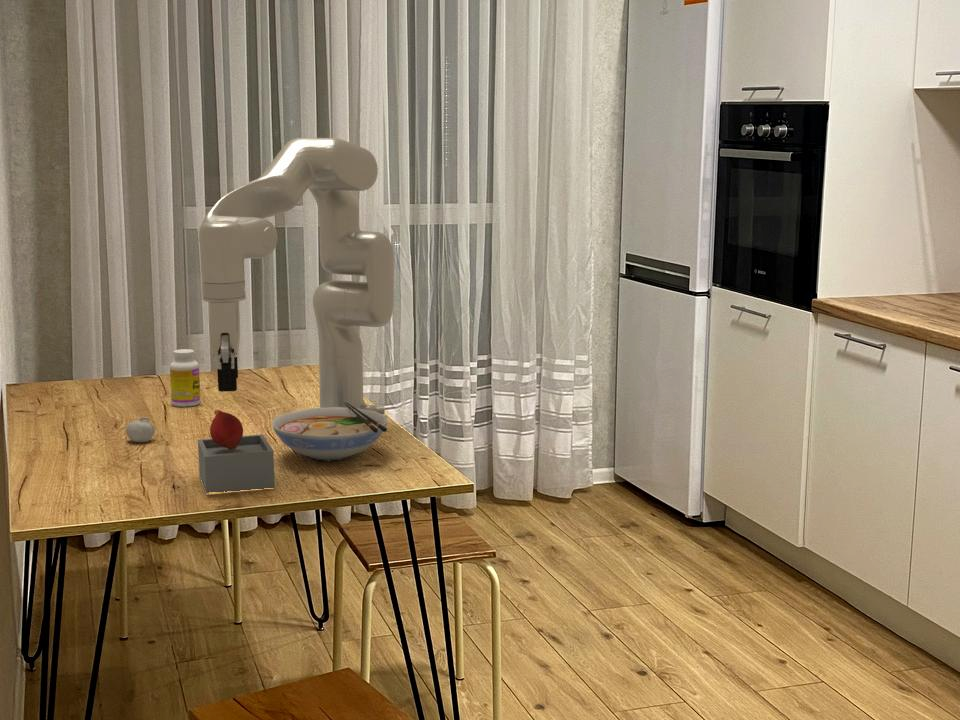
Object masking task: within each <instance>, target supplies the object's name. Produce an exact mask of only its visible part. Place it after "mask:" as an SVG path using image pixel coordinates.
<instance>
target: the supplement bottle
mask: <svg viewBox="0 0 960 720" xmlns="http://www.w3.org/2000/svg"><path fill="white" fill-rule="evenodd" d="M194 357H195V350H194V349H190V348H189V349H188V348H183V349H176V350H173V358H174V360H173V361H172V362H171V363H170V365H169V373H170V374H169V375H170V396H171V397H170V399H171V404H172V405H173V406H175V407H181V408H189V407H190V408H191V407H195V406H197V405H199V404H200V403H201V387H200V385H201V382H200V381H201V380H200V364H199V362H198V361H196V360H195V359H194Z"/></svg>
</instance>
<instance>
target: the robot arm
mask: <svg viewBox="0 0 960 720" xmlns="http://www.w3.org/2000/svg"><path fill="white" fill-rule="evenodd" d="M378 171H379V168H378V163H377V160H376V157H375V156H374V154H373V153H372V152H371V151H370V150H368V149H367V148H364V147H361V146H360V145H357V144H354V143H352V142H349V141H346V140H343V139H340V138H335V137H296V138H293V139H291V140H288V141H287V142H286V143H285V144H284V145H283V147H282V148H281V149H280V151H279V152H278V153H277V154H276V156H275V157H274V159H273V160H272V161H271V162H270V164H269V165H268V167H267V168H266V169H265V170H264V171H263V173H262V174H261V175H260V177H257V179H254V180H251V181H248V182H247V183H246V184H245V183H244V185H242V186H240V187H238V188H236V189H234V190H232V191H230V192H228V193H227V194H225V195H224V196H222V197H221V198H220V199H218V200H217V201H216V203H214V205H213V206H212V208H211V209H210V210H209V211H208V212H207V214H206V215H205V216H204V219H203V220H202V222H201V224H200V227H199V230H198V241H199V257H200V272H201V277H200V278H201V290H202V291H201V294H202V295H201V296H202V301H203V302H206V303H208V330H209V353H210V357H212V358H214V357H215V356H217V358H218V359H217V361H218V363H217V366H218V367H217V368H216V369H217V387H218V388H217V389H218V391H219V392H220V393H222V392H225V393H226V392H236V391H237V389H238V383H237V379H238V378H239V369H238V356H237V355H238V354H239V348H240V335H241V333H240V332H241V321H240V319H241V317H240V316H241V315H240V301H244V300H246V298H247V297H246V280H245V279H246V277H245V275H246V274H245V259H251V260H252V259H254V260H255V259H256V260H257V259H264V258H266V257H268V256H269V255H271V254H272V253H273V252H274V250H275V249H276V247H277V245H278V239H279V236H278V230H277V229H276V227H275V225H274V224H273V223H272V222H271V221H269V220H268V219H266V218H270V217H273V216H274V217H275V216H277V215H281V214H283V213H287V212H289V211H291V210H293V208H295V207H296V206H297V205H298V203H299V201H300V200H301V199H302V197H303V196H304V195H305V192H306V191H307V189H308V190H309V192H310V193H311V195H312V197H313V198H314V200H315V203H316V205H317V210H318V216H319V217H318V220H319V221H318V222H319V226H318V228H319V259H320V265H321V267H322V269H323V270H324V271H325V272H326V273H330V274H333V275H343V276H361V277H362V276H363V277H365V279H366V281H354V280H352V281H351V280H329V281H326V282H322V283H321V284H320V285H318V286H317V287H316V289H315V290H314V292H313V297H312V307H313V311H314V317H315V322H316V329H317V339H318V367H319V368H318V374H319V375H318V377H319V381H318V382H319V408H329V407H344V408H348V407H347V406H346V405H345V404H347V403H349V404H350V405H352V406H353V407H355V408H360V409H365V410H370V411H375V412H378V413H380V414H382V415H385V412H386V411H385V405H378V404H371V405H369V404H367V403H366V402H365V400H364V372H363V371H364V366H363V364H364V363H363V362H364V361H363V353H364V352H363V351H364V349H363V348H364V347H363V343H362V340H361V337H360V334H359V333H358V331H357V330H356V328H355V327H368V328H369V327H370V328H371V327H372V328H380V327H385V326H386V325H387V324H389V322H390V321H391V319H392V317H393V313H394V312H393V311H394V302H395V301H394V299H395V297H394V294H395V293H394V292H395V291H394V287H395V286H394V285H395V283H394V282H395V280H394V278H395V275H394V274H395V273H394V270H395V268H394V266H395V264H394V263H395V259H394V258H395V257H394V249H393V245H392V242H391V241H390V238H389V237H388V236H387V235H386V234H384V233H382V232H379V231H372V230H371V231H369V230H367V231H366V230H362V231H361V228H360V209H359V208H360V207H359V205H358V202H357V200H356V198H355V196H354V195H353V193H352V191H354V192H355V191H356V192H363V191H367V190H369V189H371V188H372V187H373V186H374V185H375V183H376V181H377V178H378V173H379V172H378ZM344 403H345V404H344ZM347 405H348V404H347ZM350 405H348V406H349V407H350V408H352V407H351V406H350Z"/></svg>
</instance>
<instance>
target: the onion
mask: <svg viewBox="0 0 960 720" xmlns="http://www.w3.org/2000/svg"><path fill="white" fill-rule="evenodd" d="M213 414H214V415H215V416H214V417H213V420H212V421H211V423H210V424H211V425H210V428H209V433H210V439H212V440H213V441H214V442H215V443H216V444H217V445H219V446H222V447H225V448H228V449H230V450H234V449H236V448H237V446H238V444H239V443H240V441H241V439H242V436H244V427H243V424H242V421H241V420H240V419H239V418H238V417H237V416H235V415H234V414H231V413H229V412H224V411H223V410H221V409H216V410H214V412H213Z"/></svg>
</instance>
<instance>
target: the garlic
mask: <svg viewBox="0 0 960 720" xmlns="http://www.w3.org/2000/svg"><path fill="white" fill-rule="evenodd" d="M149 420H150V417H148V416H143V417H140V418H139V419H136V420H134V421H131V422H129V423H128V425H127V426H126V436H127V437H128V438H129V440H130V441H131V442H135V443H138V444H139V443H147V442H149V441H150V440H152V438H153V436H154V435H155V433H156V432H155V431H156V430H155V429H156V428H155V426H154V425H153V424H152V423H151V422H150V421H149Z"/></svg>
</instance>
